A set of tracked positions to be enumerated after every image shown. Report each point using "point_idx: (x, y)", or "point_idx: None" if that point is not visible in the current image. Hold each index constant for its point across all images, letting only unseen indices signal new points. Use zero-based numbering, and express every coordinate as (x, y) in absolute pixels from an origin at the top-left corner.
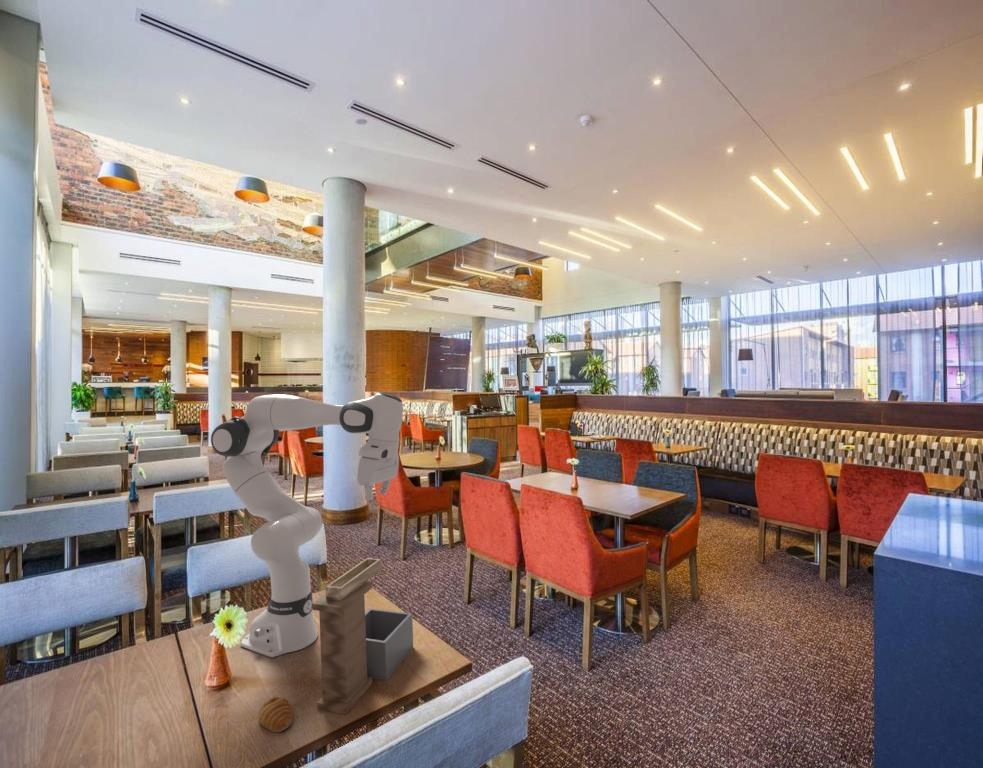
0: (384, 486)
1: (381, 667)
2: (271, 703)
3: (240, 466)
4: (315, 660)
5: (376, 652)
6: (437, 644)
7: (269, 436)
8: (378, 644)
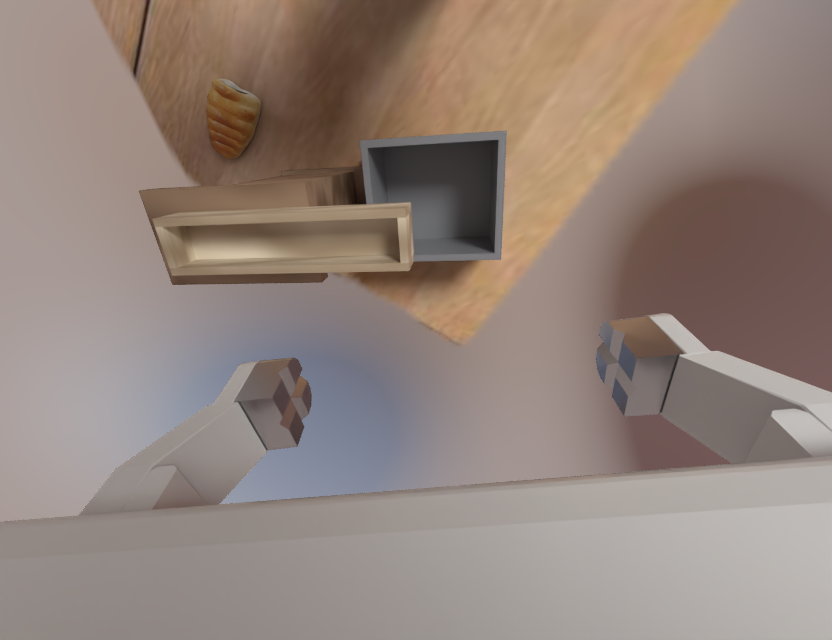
0: (691, 398)
1: None
2: (223, 98)
3: None
4: (394, 45)
5: None
6: (513, 281)
7: None
8: None
